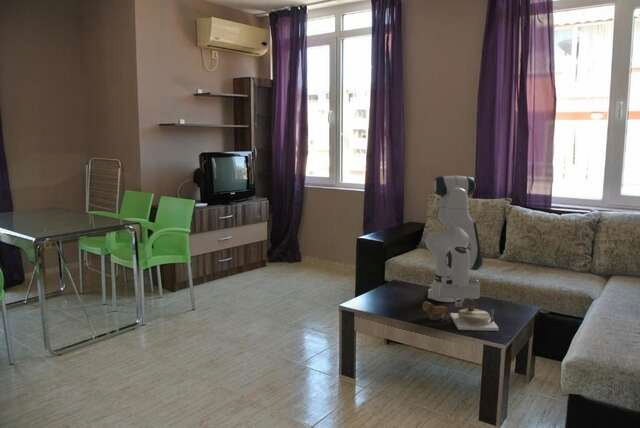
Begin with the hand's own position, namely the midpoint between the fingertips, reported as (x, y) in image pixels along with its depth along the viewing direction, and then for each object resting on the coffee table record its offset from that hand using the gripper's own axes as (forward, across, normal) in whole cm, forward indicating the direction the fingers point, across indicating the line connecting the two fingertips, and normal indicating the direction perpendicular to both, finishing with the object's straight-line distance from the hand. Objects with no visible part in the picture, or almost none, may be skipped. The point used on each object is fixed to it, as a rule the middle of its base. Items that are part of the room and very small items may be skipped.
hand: (458, 306), depth 259 cm
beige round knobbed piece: (+3, -6, +4) cm, 9 cm away
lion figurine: (+7, +11, +1) cm, 13 cm away
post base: (+7, -6, +6) cm, 11 cm away
